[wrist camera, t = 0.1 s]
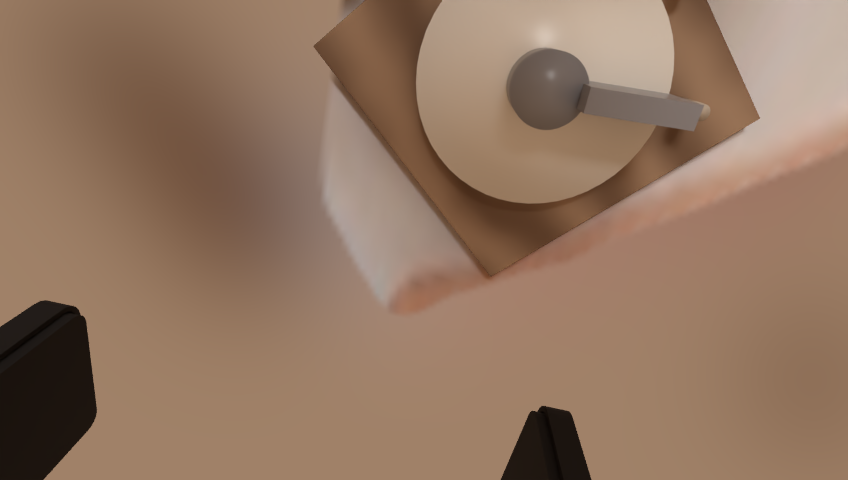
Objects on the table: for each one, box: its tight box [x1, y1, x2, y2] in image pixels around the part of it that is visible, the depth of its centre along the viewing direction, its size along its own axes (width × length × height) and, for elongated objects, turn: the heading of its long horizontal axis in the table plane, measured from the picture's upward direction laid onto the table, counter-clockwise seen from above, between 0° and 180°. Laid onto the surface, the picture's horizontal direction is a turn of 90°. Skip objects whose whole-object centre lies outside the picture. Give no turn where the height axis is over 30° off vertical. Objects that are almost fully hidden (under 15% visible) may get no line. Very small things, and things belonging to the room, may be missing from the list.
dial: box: [416, 0, 704, 204], centre depth 31 cm, size 18×18×6 cm
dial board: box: [314, 0, 760, 276], centre depth 33 cm, size 24×24×6 cm
